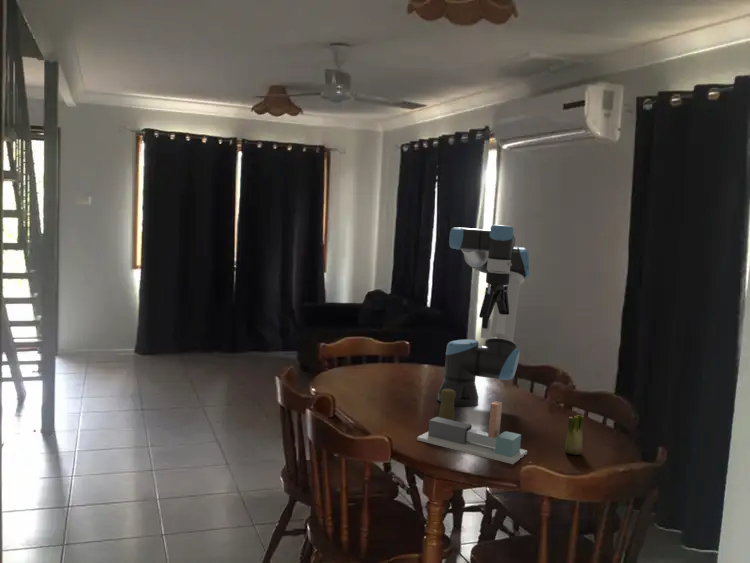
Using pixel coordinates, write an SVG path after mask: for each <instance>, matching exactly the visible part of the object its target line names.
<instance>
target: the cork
mask: <svg viewBox="0 0 750 563" xmlns="http://www.w3.org/2000/svg"><path fill="white" fill-rule="evenodd" d="M455 397H456V392H455V391H454V390H452V389H443V390H442V391H441V398H442V401H441V402H440V407H439V410H438V416H437V417H440V418H445V419H449V420H453V421H456V416H455V406H454V399H455Z"/></svg>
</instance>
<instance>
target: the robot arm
mask: <svg viewBox="0 0 750 563" xmlns="http://www.w3.org/2000/svg"><path fill="white" fill-rule="evenodd" d="M448 239H449V240H448V243H449V248H451V249H454V250H455V249H456V250H460V251H461V252H462V253H463V259H464V261H465V263H466V264H467V265H468V266H469V267H470V268H472V269H474V270H476V271H478V272H481V273H484V274H486V277H485V282H486V283H487V284H489V285H490V286H489V287H485V291H484V296H483V300H482V303H481V304H482V305H481V307H480V312H479V318H480V319H481V326H480V328H481V329H480V330H481V331H480V339H486V340H485V343H484V345H482V344H480V343H479V340H476V339H469V338H468V339H457V340H451V341H449V342H448V343H447V345H446V350H445V351H446V352H445V354H444V355H445V360H444V361H445V362H444V363H445V364H444V375H443V380H442V383H441V386H440V388H439V390H438V394H437V401H439V402H440V403H441V401H442V398H441V391H442V390H443V389H452V390H454V391H455V392H456V397H455V399H454V407H474V406H477V405H478V403H479V393H478V391H477V387H476V377H480V378H487V379H488V378H489V379H496V380H499V381H501V380H504V381H505V380H506V381H508V380H509V381H510V380H512V379H514V377H515V376H516V371H517V369H518V368H517V367H518V365H519V361H520V360H519V359H520V356H521V355H520V354H521V351H520V350H519V349H518V348H517V343H516V342H515V341H514V338H515V329H516V328H515V327H516V320H517V311H518V305H519V296H520V288H521V285H522V284H523V283H525V280H526V279H527V278H529V277H530V266H529V265H530V263H529V262H530V260H529V259H530V258H529V256H530V255H529V250H528V249H527V248H526V247H523V246H522V247H521V246H517V245H516V237H515V235H514V227H513V226H512V225H503V224H492V225H491V226H490V229H486V228H485V229H484V228H483V229H482V228H481V229H480V228H470V227H462V226H461V227H458V226H457V227H454V226H453V227H452V228H451V229H450V232H449V238H448ZM515 245H516V246H515ZM492 313H493V315H492ZM491 315H492V318H491ZM491 321H492V322H491Z"/></svg>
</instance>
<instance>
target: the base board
mask: <svg viewBox="0 0 750 563" xmlns="http://www.w3.org/2000/svg"><path fill="white" fill-rule="evenodd" d="M428 432H429V430H428V431H427V432H424V433H423V434H420V435H419V436H417V437H416V440H417V441H419V442H423V443H427V444H431V445H434V446H440V447H443V448H447V449H451V450H454V451H455V450H456V451H458V452H463V453H467V454H470V455H473V456H474V455H475V456H479V457H483V458H487V459H489V460H490V459H491V460H495V461H499V462H503V463H507V464H511V465H514V464H515V463H517V462H518V461H520V460H521V459H522V458H524V457H525V456H526V455H527V454H528V450H526V449H523V448H520V452H518V453H517V454H515V455H514V456H513V457H508V456H504V455H500V454H496V453H495V450H496V448H494V447H490V446H486V445H482V444H478V443H474V442H467V443H465V444H460V443H456V442H451V441H447V440H443V439H439V438H435V437H431V436H428ZM524 455H525V456H524ZM520 458H521V459H520Z"/></svg>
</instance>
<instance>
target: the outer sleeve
mask: <svg viewBox="0 0 750 563" xmlns="http://www.w3.org/2000/svg"><path fill="white" fill-rule="evenodd" d="M428 421H429V422H428V431H429V432H428V431H427V432H428V436H431V437H435V438H439V439H443V440H447V441H451V442H456V443H460V444H465V443H467V442H469V441H465V433H466V429H468V428H470V429H472V426H473V425H472V424H471V423H466V422H462V421H457V420H455V421H453V420H449V419H445V418H440V417H438V416H435V417H433V418H431V419H429V420H428Z"/></svg>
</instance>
